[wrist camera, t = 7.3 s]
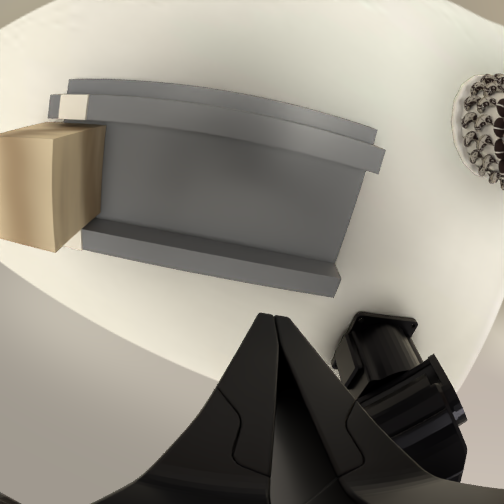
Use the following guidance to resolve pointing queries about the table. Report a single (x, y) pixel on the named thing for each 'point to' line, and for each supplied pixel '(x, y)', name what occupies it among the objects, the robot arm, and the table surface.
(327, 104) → the table surface
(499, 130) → the banded tower model
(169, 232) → the chute
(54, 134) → the block
